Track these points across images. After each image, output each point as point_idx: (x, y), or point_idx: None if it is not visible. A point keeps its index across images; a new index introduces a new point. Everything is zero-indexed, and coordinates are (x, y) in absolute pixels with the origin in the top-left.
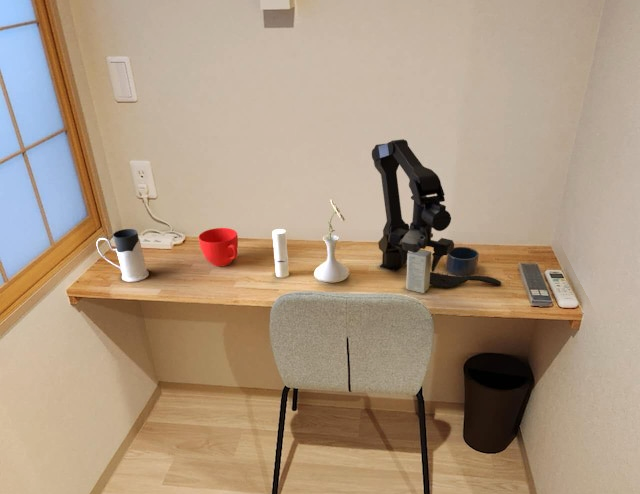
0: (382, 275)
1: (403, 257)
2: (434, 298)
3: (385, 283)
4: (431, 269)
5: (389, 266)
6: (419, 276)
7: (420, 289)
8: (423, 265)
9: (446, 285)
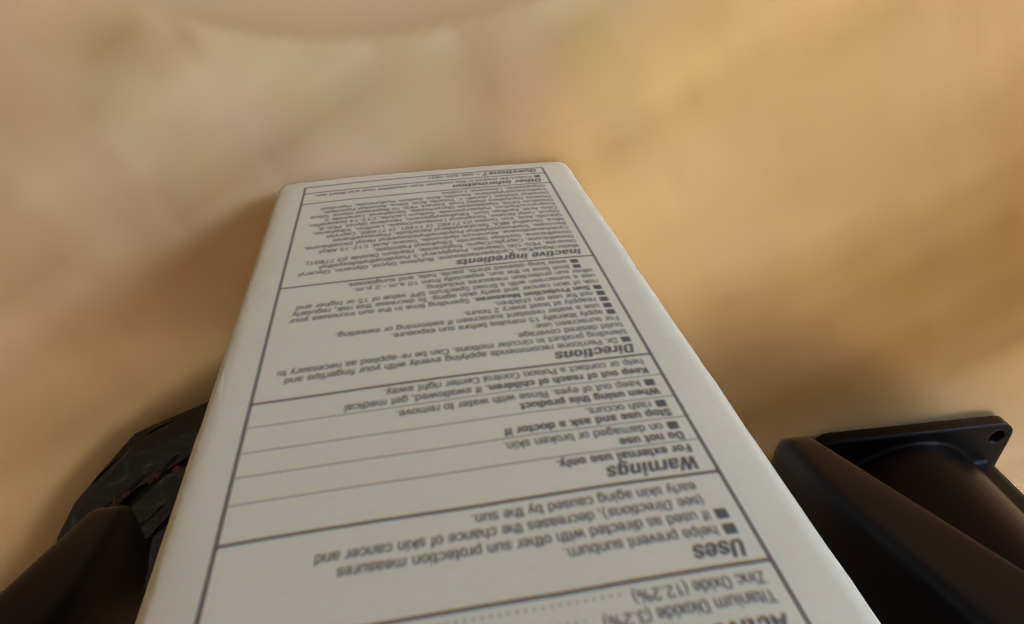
0: (945, 299)
1: (941, 568)
2: (53, 138)
3: (875, 147)
4: (98, 548)
5: (918, 458)
6: (360, 310)
7: (335, 196)
8: (227, 546)
9: (141, 471)
